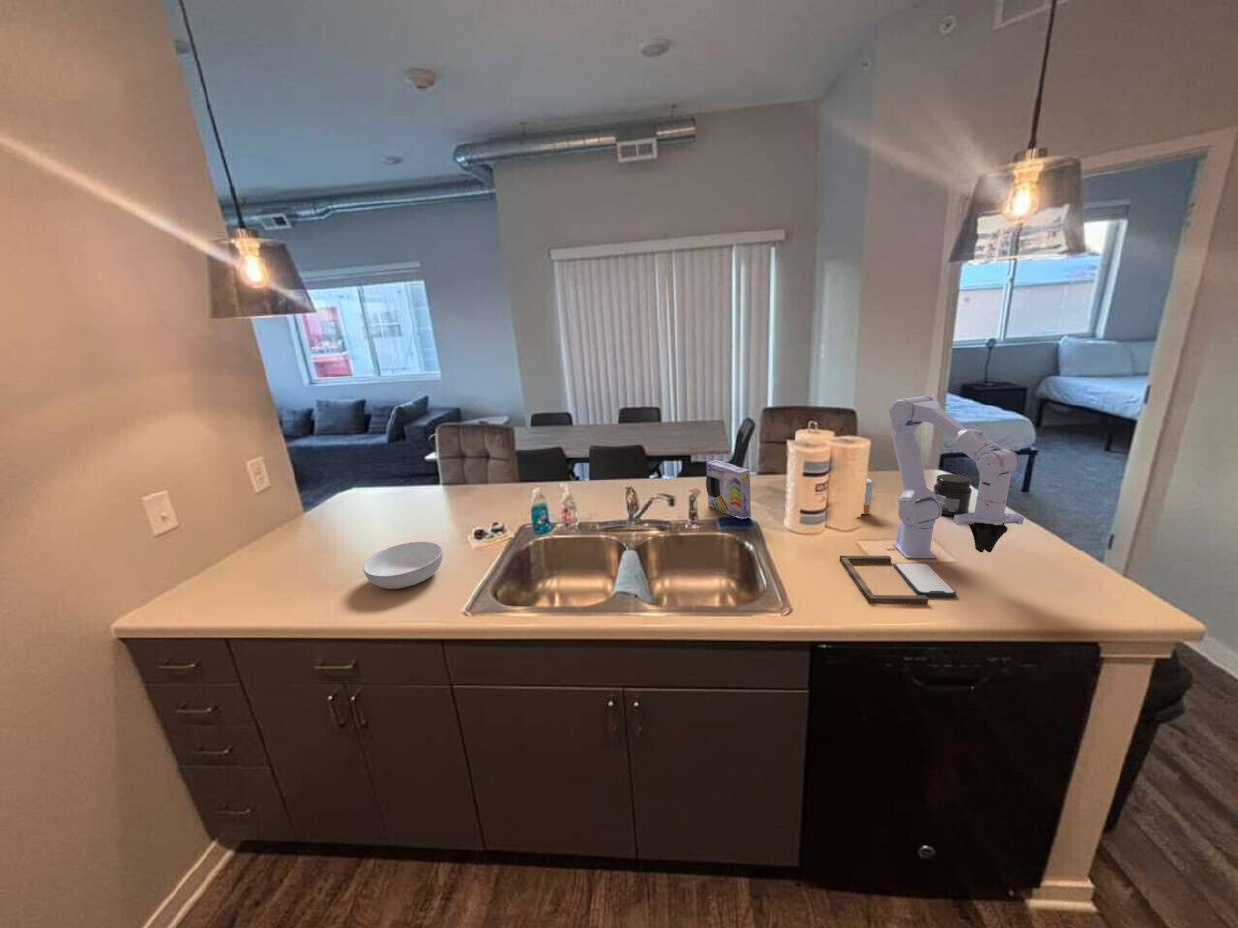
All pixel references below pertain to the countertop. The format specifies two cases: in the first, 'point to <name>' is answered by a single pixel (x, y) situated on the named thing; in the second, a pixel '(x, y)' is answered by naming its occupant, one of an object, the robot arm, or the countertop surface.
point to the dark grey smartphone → (924, 580)
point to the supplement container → (953, 494)
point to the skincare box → (868, 496)
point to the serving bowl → (403, 564)
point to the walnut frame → (867, 592)
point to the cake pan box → (728, 488)
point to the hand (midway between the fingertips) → (983, 550)
